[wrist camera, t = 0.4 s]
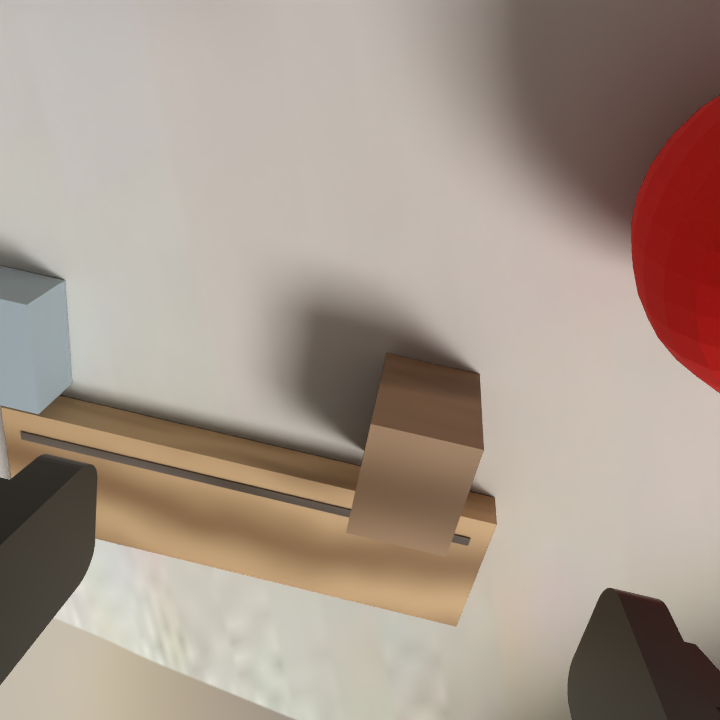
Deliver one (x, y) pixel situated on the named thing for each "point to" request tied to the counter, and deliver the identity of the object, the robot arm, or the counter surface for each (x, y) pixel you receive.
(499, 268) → the counter surface
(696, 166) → the tomato
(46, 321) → the slate stop block
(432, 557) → the oak board
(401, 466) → the walnut block
